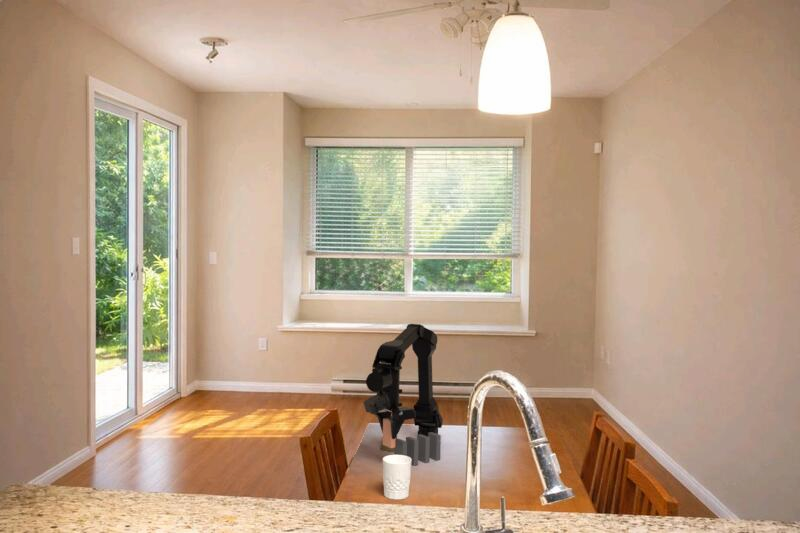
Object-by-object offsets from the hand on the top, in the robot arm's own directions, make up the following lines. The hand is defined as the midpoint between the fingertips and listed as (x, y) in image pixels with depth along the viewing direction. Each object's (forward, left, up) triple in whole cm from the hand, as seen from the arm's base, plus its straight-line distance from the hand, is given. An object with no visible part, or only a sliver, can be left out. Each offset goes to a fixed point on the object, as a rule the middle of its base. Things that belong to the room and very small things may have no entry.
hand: (389, 436), depth 207 cm
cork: (-12, -16, -10) cm, 22 cm away
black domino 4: (-4, 0, -10) cm, 11 cm away
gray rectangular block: (-18, 0, -10) cm, 20 cm away
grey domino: (-13, 0, -10) cm, 17 cm away
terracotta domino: (0, 0, -3) cm, 3 cm away
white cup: (+11, +19, -10) cm, 24 cm away
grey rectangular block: (-9, 0, -10) cm, 13 cm away
